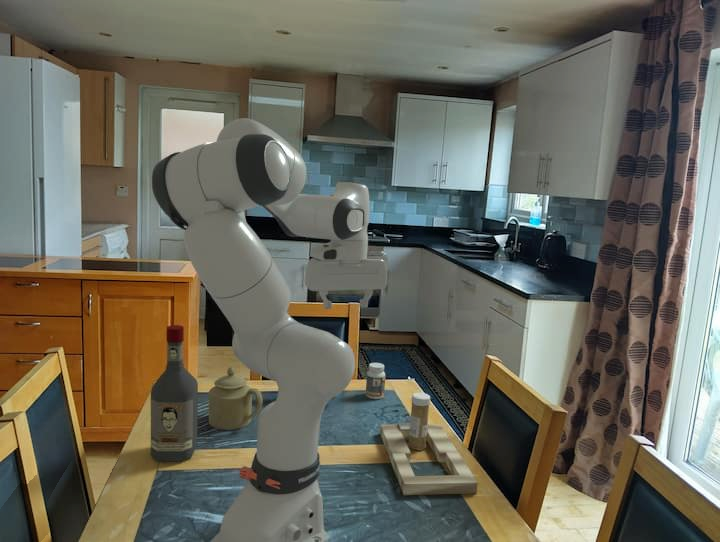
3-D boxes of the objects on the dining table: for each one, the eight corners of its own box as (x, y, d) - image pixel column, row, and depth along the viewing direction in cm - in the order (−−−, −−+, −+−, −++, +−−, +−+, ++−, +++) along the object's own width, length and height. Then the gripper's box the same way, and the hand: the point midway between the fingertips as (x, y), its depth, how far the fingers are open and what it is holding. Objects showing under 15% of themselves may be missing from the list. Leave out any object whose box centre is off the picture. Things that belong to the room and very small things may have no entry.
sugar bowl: (269, 415, 148) (271, 362, 145) (260, 433, 137) (261, 376, 134) (216, 410, 148) (217, 358, 146) (202, 428, 137) (203, 372, 135)
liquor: (159, 443, 128) (159, 321, 124) (198, 444, 129) (200, 322, 125) (148, 463, 119) (147, 332, 115) (190, 463, 120) (192, 333, 116)
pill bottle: (385, 399, 163) (388, 368, 161) (367, 399, 162) (369, 368, 160) (382, 392, 169) (384, 362, 167) (363, 392, 168) (365, 361, 166)
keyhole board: (476, 493, 116) (477, 479, 115) (403, 495, 113) (404, 481, 113) (439, 433, 143) (440, 422, 142) (379, 433, 140) (380, 422, 140)
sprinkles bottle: (429, 450, 133) (433, 398, 131) (411, 451, 132) (416, 399, 130) (421, 441, 138) (425, 391, 136) (405, 442, 136) (409, 392, 134)
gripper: (382, 249, 135) (378, 303, 137) (304, 248, 127) (301, 306, 129) (393, 252, 129) (389, 309, 132) (312, 252, 121) (309, 312, 123)
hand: (345, 307), depth 130 cm, fingers open, 8 cm apart
